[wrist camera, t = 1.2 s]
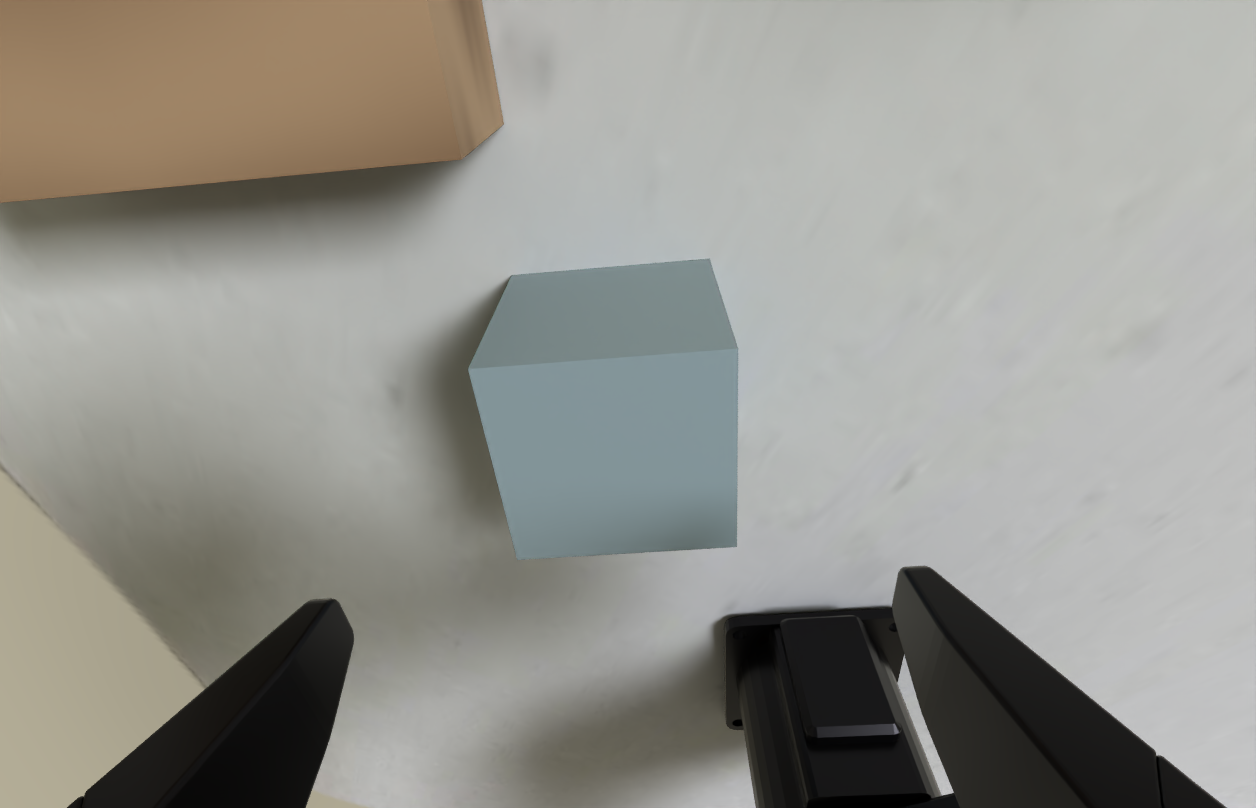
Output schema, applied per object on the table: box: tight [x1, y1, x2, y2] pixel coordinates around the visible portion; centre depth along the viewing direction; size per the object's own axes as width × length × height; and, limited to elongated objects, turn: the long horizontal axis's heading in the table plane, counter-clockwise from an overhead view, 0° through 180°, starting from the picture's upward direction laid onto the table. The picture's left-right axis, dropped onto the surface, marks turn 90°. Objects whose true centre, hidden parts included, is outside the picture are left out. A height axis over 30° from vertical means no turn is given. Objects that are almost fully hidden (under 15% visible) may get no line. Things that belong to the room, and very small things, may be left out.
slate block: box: [468, 259, 738, 560], centre depth 15 cm, size 5×5×5 cm
